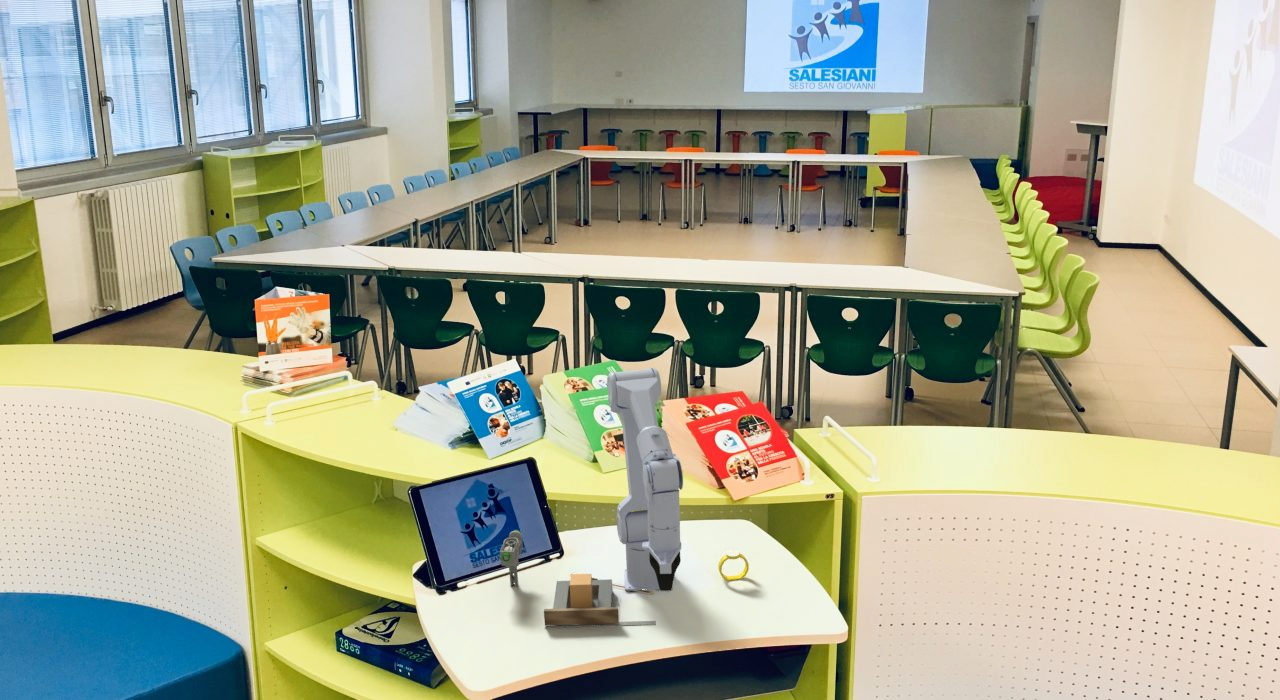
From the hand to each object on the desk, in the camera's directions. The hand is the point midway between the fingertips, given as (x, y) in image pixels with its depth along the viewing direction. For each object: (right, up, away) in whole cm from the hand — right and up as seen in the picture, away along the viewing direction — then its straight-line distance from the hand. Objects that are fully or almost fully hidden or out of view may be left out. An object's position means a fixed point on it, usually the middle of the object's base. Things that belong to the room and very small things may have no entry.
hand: (665, 588), depth 200 cm
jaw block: (-16, -6, +11) cm, 21 cm away
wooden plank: (-16, -8, +6) cm, 19 cm away
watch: (+14, -3, +21) cm, 26 cm away
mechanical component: (-30, -4, +21) cm, 37 cm away
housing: (-12, -6, +12) cm, 18 cm away
